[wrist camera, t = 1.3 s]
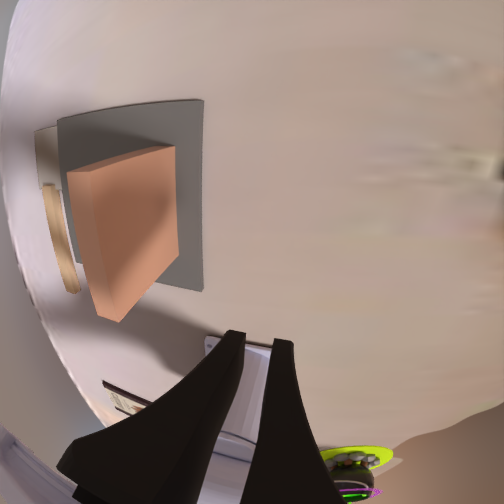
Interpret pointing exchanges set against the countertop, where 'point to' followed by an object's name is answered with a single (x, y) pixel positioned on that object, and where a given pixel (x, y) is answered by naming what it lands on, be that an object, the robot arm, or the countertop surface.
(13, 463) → the robot arm
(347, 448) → the toy cauldron
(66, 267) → the turner
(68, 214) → the mat
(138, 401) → the chocolate bar
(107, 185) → the tile
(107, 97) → the countertop surface
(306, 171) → the countertop surface
